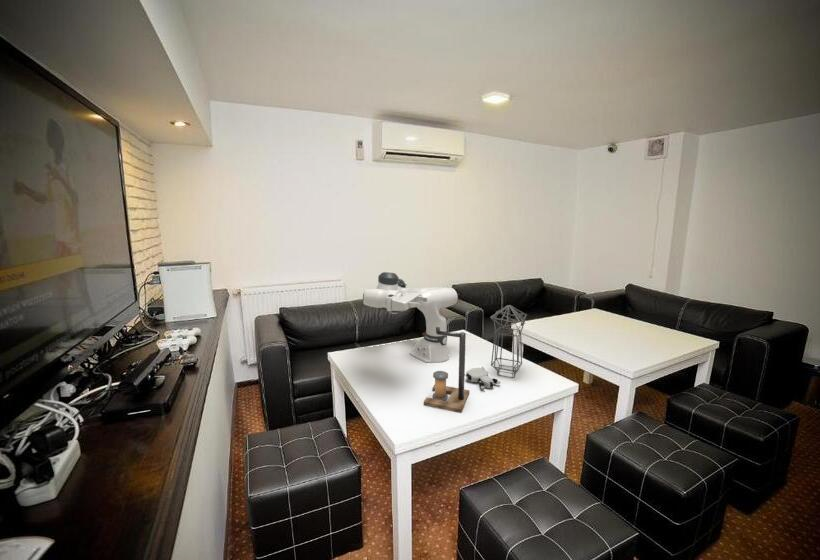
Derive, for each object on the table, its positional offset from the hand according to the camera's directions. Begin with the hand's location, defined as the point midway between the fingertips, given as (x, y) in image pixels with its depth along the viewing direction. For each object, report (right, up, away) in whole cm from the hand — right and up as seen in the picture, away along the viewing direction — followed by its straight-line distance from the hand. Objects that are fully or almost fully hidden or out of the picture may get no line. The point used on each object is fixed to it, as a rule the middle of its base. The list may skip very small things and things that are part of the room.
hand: (423, 302), depth 148 cm
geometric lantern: (+42, -37, +20) cm, 60 cm away
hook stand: (+11, -40, -4) cm, 42 cm away
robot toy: (+28, -39, +10) cm, 49 cm away
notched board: (+10, -41, -4) cm, 43 cm away
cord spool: (+7, -41, -3) cm, 42 cm away
